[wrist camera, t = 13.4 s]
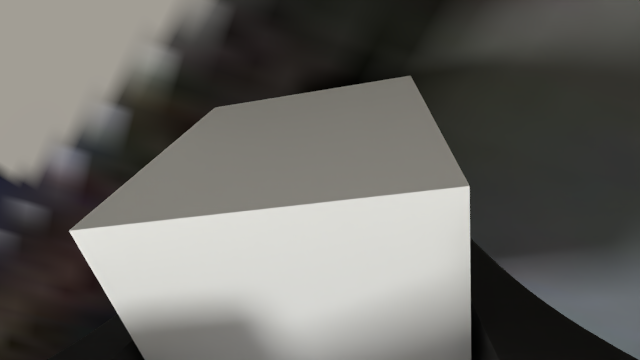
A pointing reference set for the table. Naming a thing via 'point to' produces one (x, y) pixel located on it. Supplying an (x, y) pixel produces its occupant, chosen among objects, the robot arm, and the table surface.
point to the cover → (294, 234)
